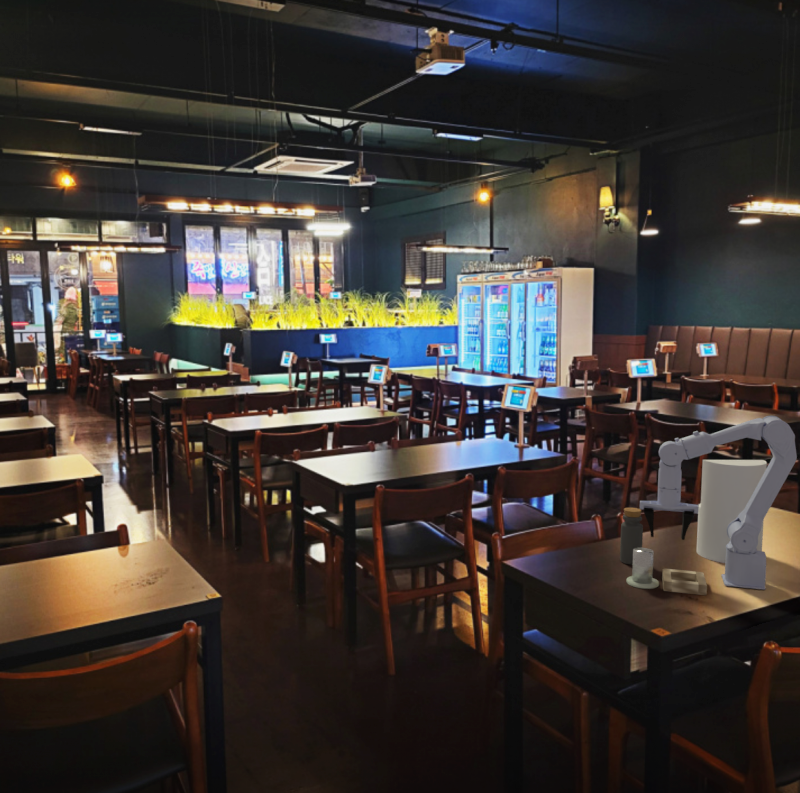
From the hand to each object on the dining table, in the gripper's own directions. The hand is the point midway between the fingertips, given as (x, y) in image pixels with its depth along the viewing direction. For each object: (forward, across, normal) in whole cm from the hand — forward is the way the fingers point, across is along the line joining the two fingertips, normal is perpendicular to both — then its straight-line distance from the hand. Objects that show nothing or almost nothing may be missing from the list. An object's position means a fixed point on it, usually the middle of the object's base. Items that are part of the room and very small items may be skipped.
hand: (667, 537), depth 193 cm
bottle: (+11, +9, -9) cm, 17 cm away
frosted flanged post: (+10, +6, +8) cm, 14 cm away
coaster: (+10, +6, +8) cm, 14 cm away
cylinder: (+11, -18, -24) cm, 32 cm away
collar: (+10, -4, +7) cm, 13 cm away
